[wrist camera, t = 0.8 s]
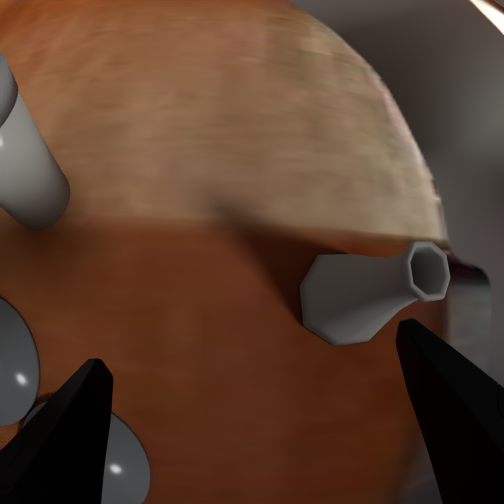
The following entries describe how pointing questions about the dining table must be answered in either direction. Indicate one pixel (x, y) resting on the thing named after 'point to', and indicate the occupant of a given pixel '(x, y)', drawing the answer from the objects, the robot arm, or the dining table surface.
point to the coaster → (121, 464)
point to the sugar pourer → (27, 162)
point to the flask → (369, 290)
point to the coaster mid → (16, 366)
